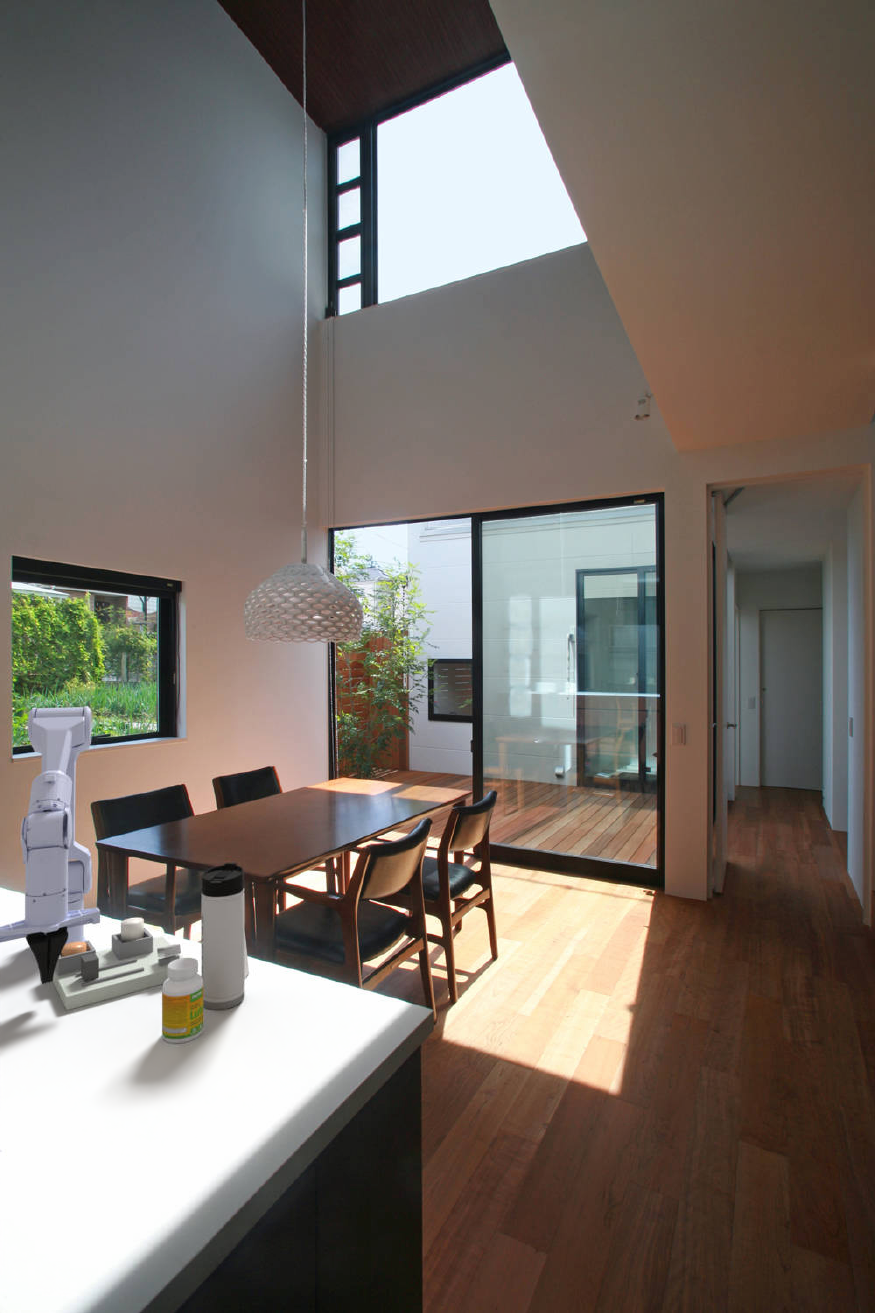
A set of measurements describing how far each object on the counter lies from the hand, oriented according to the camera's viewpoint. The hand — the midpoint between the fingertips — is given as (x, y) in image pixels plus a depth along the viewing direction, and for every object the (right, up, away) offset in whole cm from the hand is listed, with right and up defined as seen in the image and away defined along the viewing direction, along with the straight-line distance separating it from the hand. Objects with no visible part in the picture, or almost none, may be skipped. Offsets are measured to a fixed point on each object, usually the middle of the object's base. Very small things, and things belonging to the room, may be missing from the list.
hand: (46, 980), depth 103 cm
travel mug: (+27, -3, +1) cm, 27 cm away
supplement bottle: (+24, -3, -9) cm, 26 cm away
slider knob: (+5, -1, +4) cm, 6 cm away
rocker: (+15, 0, +9) cm, 18 cm away
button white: (+7, 0, +14) cm, 16 cm away
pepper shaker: (+26, -4, +9) cm, 27 cm away
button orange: (0, -1, +9) cm, 9 cm away
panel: (+7, -4, +9) cm, 12 cm away
